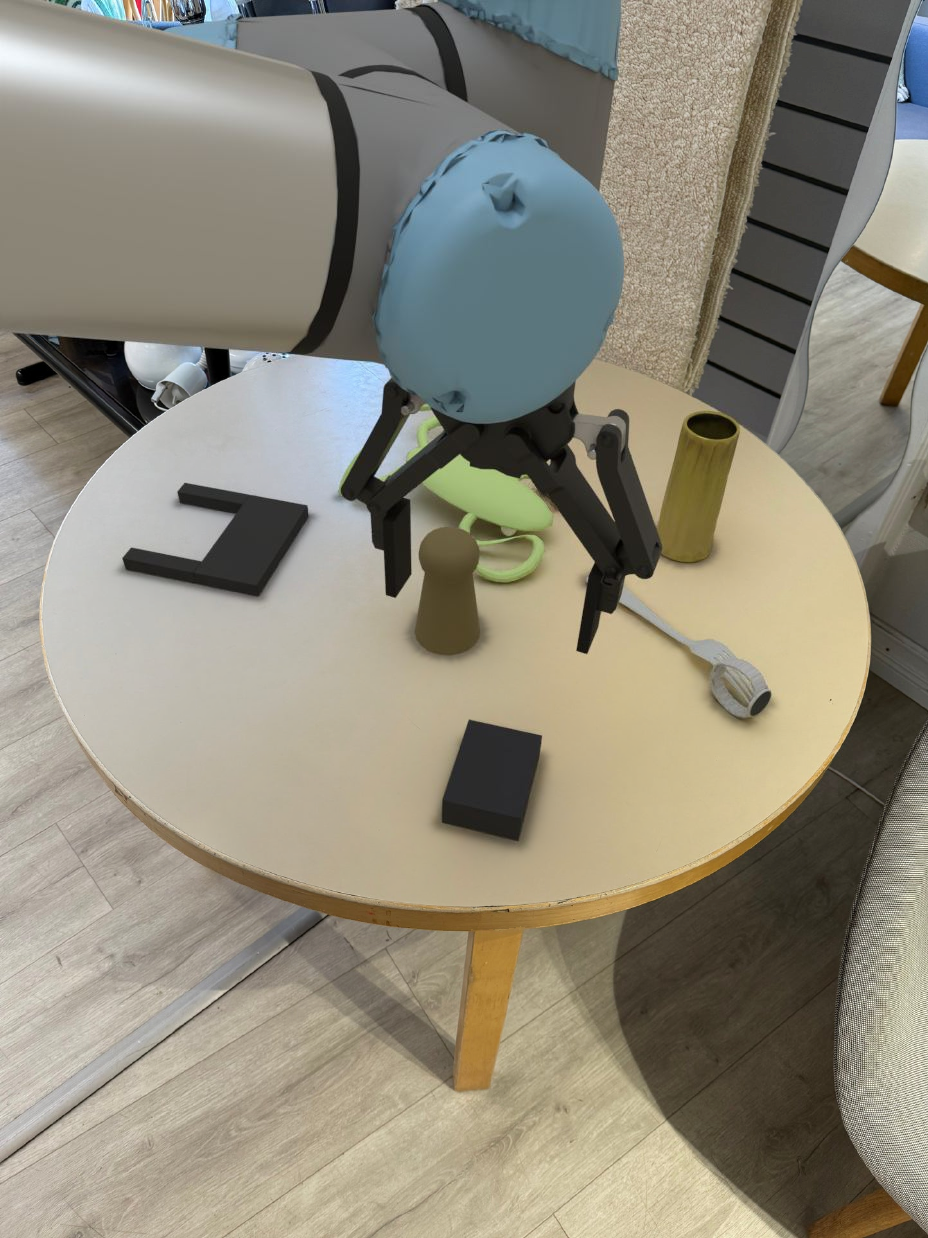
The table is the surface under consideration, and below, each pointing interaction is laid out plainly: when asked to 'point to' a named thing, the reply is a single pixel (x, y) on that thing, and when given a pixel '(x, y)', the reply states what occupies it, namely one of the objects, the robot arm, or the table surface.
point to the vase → (697, 485)
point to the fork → (690, 641)
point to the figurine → (485, 502)
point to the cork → (448, 592)
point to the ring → (756, 680)
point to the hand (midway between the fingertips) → (490, 611)
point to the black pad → (231, 542)
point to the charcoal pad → (492, 780)
